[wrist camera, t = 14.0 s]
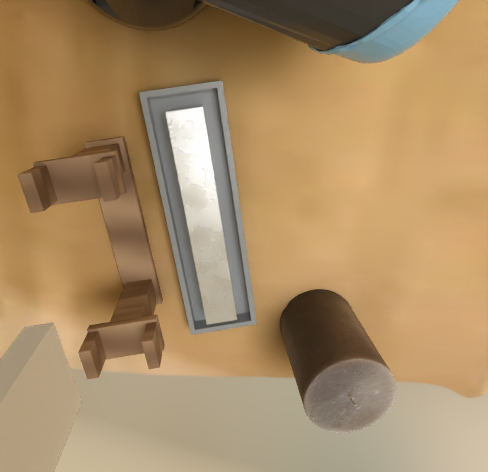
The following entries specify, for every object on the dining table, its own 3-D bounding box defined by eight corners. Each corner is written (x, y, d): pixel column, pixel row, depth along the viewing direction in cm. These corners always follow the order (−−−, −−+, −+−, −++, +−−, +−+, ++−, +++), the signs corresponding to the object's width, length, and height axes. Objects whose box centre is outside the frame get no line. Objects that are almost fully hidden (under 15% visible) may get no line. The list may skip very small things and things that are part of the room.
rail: (168, 110, 41) (165, 112, 38) (203, 105, 41) (202, 106, 38) (206, 308, 50) (206, 324, 46) (235, 304, 50) (237, 319, 46)
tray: (142, 92, 41) (138, 92, 38) (221, 80, 41) (222, 80, 39) (191, 323, 51) (190, 334, 48) (254, 313, 51) (256, 324, 49)
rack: (74, 143, 42) (15, 167, 29) (136, 134, 42) (105, 154, 29) (120, 306, 49) (89, 383, 36) (172, 297, 49) (160, 371, 36)
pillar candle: (281, 289, 50) (309, 369, 36) (356, 288, 51) (411, 365, 37) (277, 353, 54) (301, 447, 40) (347, 350, 55) (395, 442, 41)
